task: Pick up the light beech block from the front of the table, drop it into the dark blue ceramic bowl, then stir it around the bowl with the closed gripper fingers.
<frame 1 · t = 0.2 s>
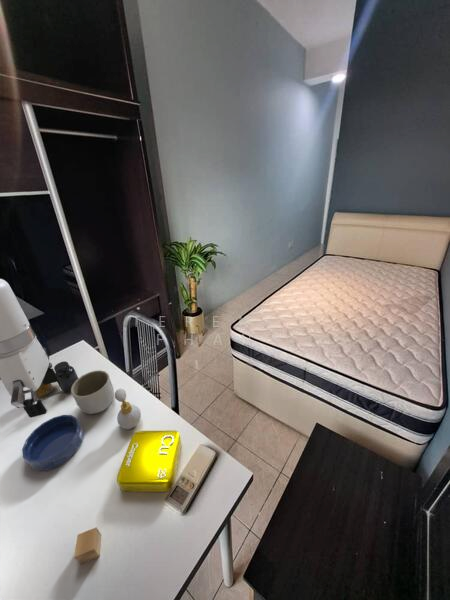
hand: (45, 397, 58), 31 cm above the table, tool pointing down, fingers open, 9 cm apart
block: (91, 548, 57), on the table
bowl: (57, 445, 79), on the table
element tile: (153, 463, 73), on the table
condiment: (47, 392, 100), on the table
planter: (99, 404, 93), on the table
supplement bottle: (71, 387, 101), on the table
perfume bottle: (129, 421, 86), on the table
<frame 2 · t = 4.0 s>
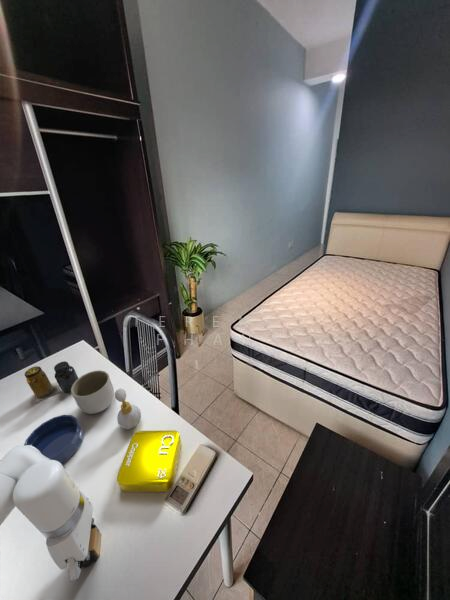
hand: (90, 548, 57), 0 cm above the table, tool pointing down, fingers closed on block, 4 cm apart
block: (91, 548, 57), on the table, touching gripper
everything else where it was.
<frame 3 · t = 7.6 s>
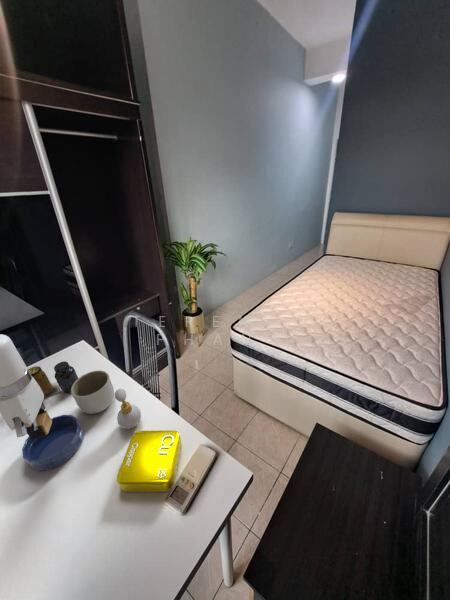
hand: (41, 429, 68), 15 cm above the table, tool pointing down, fingers closed on block, 4 cm apart
block: (42, 429, 68), point 15 cm above the table, touching gripper
everything else where it was.
when the fingers open (3 cm above the table, at t = 11.2 s): block drops 2 cm, resting on bowl.
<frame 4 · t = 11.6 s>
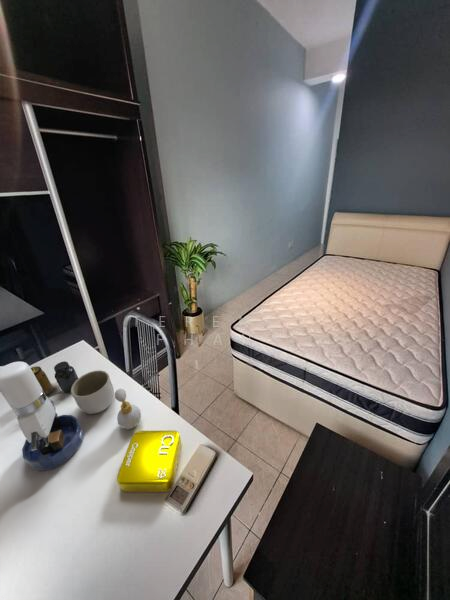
hand: (53, 439, 77), 4 cm above the table, tool pointing down, fingers open, 8 cm apart
block: (57, 444, 79), point 1 cm above the table, touching bowl
everything else where it was.
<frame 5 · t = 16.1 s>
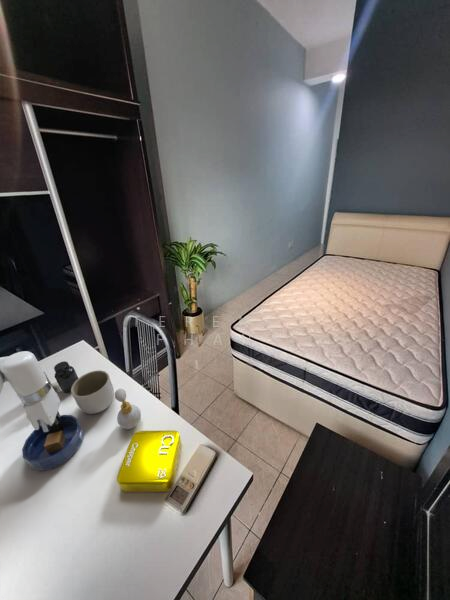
hand: (59, 429, 80), 4 cm above the table, tool pointing down, fingers closed
block: (57, 445, 79), point 1 cm above the table, touching bowl, gripper
everything else where it was.
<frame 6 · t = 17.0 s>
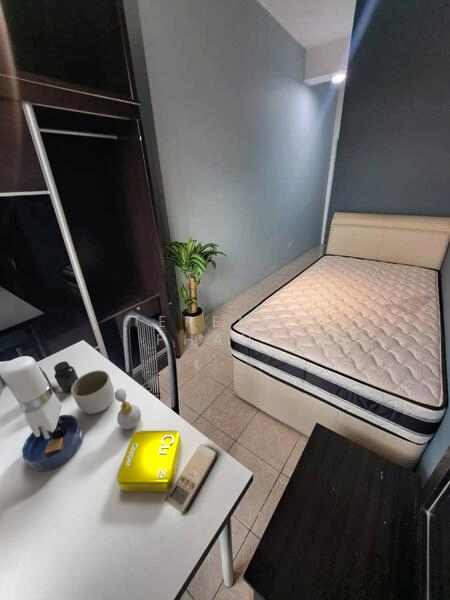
hand: (60, 435, 78), 4 cm above the table, tool pointing down, fingers closed
block: (58, 452, 77), point 1 cm above the table, touching gripper
everything else where it was.
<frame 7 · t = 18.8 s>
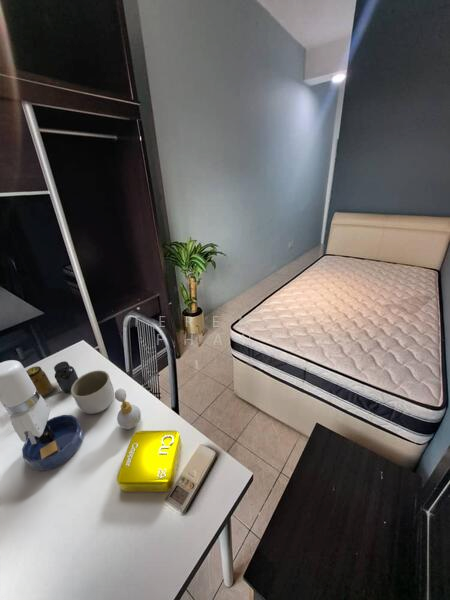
hand: (48, 440, 77), 4 cm above the table, tool pointing down, fingers closed
block: (53, 457, 75), point 1 cm above the table, touching bowl
everything else where it was.
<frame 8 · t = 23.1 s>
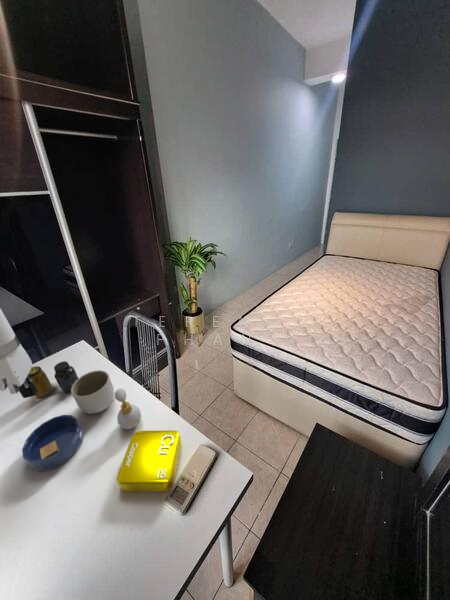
hand: (30, 394, 74), 19 cm above the table, tool pointing down, fingers closed
nothing on the table moved.
at the end: block inside the target area in the bowl (4.0 cm from its centre), point 0.6 cm above the bowl's base; the gripper is holding nothing; block moved 30.0 cm from its start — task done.
